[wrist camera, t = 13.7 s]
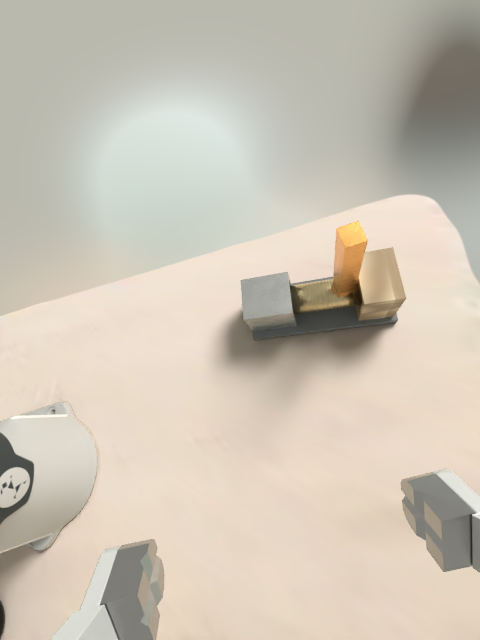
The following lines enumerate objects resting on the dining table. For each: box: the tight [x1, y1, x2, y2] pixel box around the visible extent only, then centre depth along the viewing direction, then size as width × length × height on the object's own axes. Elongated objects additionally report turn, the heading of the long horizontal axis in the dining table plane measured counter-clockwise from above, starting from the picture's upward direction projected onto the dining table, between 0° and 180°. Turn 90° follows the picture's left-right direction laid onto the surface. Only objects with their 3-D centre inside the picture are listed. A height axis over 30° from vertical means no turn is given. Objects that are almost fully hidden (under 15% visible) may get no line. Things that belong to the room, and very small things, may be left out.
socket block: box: [356, 247, 406, 321], centre depth 34 cm, size 4×6×6 cm, turn 3°
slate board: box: [253, 277, 398, 340], centre depth 39 cm, size 18×7×1 cm, turn 93°
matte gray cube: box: [241, 272, 297, 332], centre depth 37 cm, size 6×5×5 cm
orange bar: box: [290, 221, 368, 315], centre depth 31 cm, size 10×4×14 cm, turn 93°
